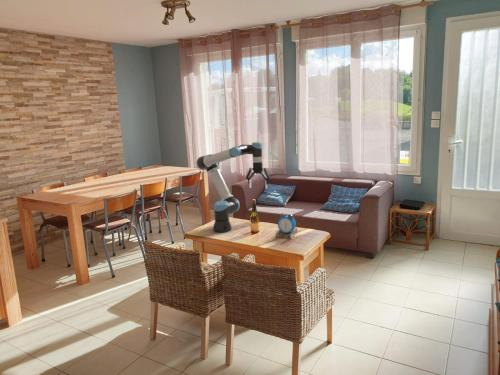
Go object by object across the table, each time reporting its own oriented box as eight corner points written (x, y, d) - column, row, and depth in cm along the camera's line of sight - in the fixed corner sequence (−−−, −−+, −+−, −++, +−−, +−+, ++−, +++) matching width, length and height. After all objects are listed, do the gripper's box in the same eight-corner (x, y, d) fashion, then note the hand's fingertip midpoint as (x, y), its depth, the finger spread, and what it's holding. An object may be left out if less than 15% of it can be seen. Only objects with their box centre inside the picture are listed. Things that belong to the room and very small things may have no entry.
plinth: (275, 237, 309) (275, 233, 309) (282, 230, 326) (282, 226, 325) (291, 239, 305) (291, 234, 304) (297, 232, 321) (297, 227, 321)
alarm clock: (277, 232, 315) (277, 214, 312) (280, 230, 320) (280, 212, 317) (293, 234, 309) (293, 215, 306) (296, 232, 314) (296, 213, 311)
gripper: (241, 162, 321) (242, 188, 325) (271, 162, 312) (271, 189, 317) (244, 160, 328) (245, 186, 332) (274, 161, 319) (274, 187, 323)
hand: (258, 188), depth 324 cm, fingers open, 13 cm apart
